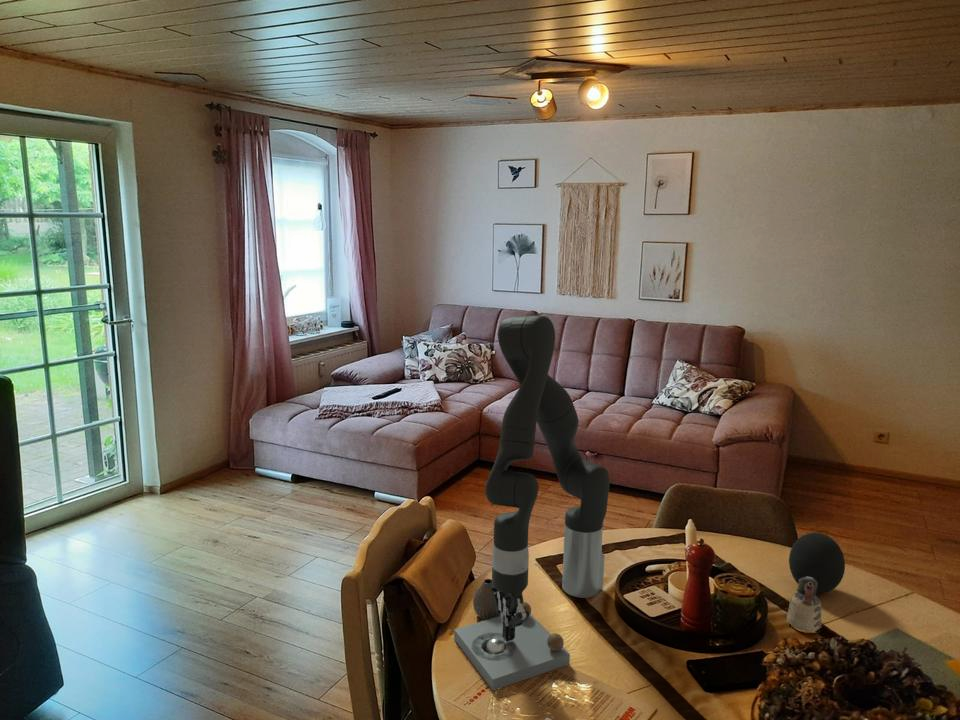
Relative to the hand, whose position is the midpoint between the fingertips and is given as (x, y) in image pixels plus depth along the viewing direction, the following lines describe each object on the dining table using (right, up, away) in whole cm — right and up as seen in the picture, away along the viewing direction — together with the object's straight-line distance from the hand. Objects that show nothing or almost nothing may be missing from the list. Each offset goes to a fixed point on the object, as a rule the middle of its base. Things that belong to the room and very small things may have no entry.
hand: (508, 638), depth 143 cm
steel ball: (-3, -2, -1) cm, 3 cm away
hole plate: (0, -3, +1) cm, 3 cm away
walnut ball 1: (+4, +3, +9) cm, 10 cm away
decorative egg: (+77, +1, +26) cm, 81 cm away
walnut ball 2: (+10, 0, -3) cm, 10 cm away
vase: (-4, -1, +14) cm, 14 cm away
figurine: (+68, -2, +11) cm, 69 cm away
